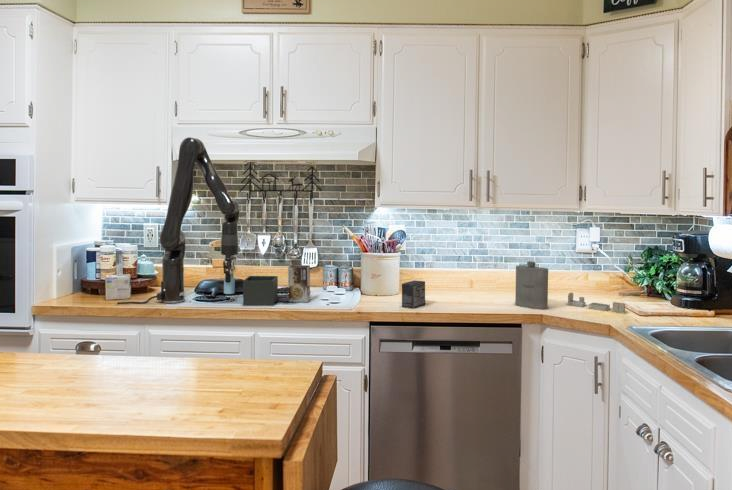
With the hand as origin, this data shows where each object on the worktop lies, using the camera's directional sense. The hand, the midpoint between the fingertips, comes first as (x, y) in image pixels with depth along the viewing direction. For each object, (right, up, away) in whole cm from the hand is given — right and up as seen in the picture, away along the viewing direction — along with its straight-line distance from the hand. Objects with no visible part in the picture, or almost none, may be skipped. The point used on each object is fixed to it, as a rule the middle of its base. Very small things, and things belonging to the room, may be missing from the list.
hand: (229, 281), depth 278 cm
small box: (+83, -10, -5) cm, 84 cm away
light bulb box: (-54, -9, +9) cm, 55 cm away
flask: (+135, -11, -6) cm, 136 cm away
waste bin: (+14, -10, 0) cm, 17 cm away
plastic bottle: (0, -5, 0) cm, 5 cm away
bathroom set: (+163, -11, -8) cm, 164 cm away
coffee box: (+31, -10, +4) cm, 33 cm away
